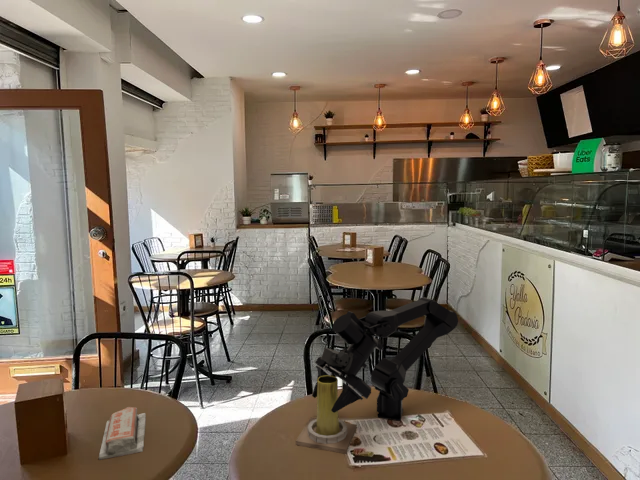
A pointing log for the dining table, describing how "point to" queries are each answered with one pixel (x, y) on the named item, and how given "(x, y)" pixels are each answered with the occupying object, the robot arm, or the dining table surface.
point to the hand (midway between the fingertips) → (322, 404)
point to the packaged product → (123, 434)
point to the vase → (327, 405)
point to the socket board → (327, 446)
